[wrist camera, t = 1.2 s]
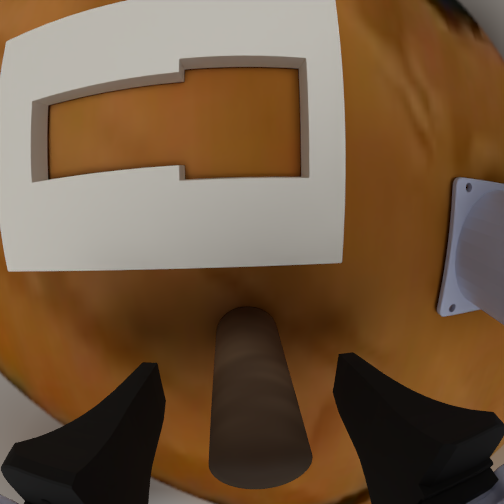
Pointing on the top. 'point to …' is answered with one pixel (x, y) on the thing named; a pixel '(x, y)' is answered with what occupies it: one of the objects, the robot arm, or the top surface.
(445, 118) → the top surface
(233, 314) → the peg
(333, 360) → the top surface
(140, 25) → the keyhole plate
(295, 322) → the top surface
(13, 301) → the top surface
